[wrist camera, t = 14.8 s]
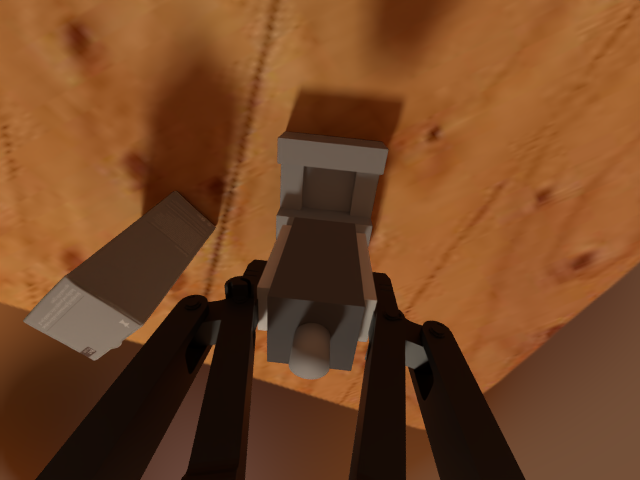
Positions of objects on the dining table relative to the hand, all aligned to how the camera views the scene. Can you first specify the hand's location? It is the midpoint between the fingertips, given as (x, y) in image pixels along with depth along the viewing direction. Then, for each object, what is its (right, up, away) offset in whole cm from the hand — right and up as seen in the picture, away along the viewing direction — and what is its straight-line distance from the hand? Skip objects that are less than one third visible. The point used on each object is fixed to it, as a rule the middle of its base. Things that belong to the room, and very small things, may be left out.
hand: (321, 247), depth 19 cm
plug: (0, 0, 0) cm, 0 cm away
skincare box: (-18, +2, +16) cm, 24 cm away
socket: (+1, +5, +13) cm, 14 cm away
